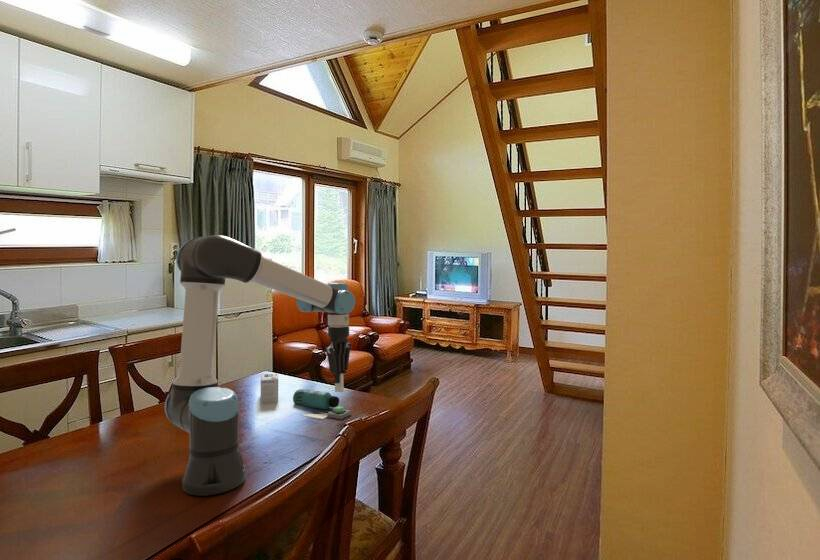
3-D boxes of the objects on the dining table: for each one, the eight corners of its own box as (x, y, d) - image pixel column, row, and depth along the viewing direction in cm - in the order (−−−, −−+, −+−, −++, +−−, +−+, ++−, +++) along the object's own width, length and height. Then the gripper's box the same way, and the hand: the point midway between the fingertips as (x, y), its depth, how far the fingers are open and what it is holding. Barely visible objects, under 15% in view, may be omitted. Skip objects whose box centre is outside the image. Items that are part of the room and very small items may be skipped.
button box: (341, 419, 160) (341, 415, 160) (327, 417, 162) (327, 412, 162) (350, 414, 165) (350, 410, 165) (337, 412, 168) (337, 408, 168)
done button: (340, 413, 161) (340, 409, 161) (332, 412, 163) (332, 408, 163) (345, 411, 164) (345, 407, 164) (338, 409, 166) (338, 405, 166)
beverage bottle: (303, 396, 181) (344, 401, 172) (293, 409, 177) (335, 415, 167) (296, 384, 178) (338, 389, 169) (286, 397, 173) (329, 402, 164)
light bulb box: (260, 400, 184) (260, 374, 184) (278, 399, 186) (277, 373, 186) (260, 408, 174) (260, 379, 174) (278, 406, 176) (278, 378, 176)
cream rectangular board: (322, 419, 160) (322, 418, 160) (295, 414, 165) (295, 413, 165) (348, 407, 174) (348, 406, 174) (323, 403, 179) (323, 402, 179)
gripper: (336, 328, 156) (336, 397, 156) (357, 324, 167) (358, 388, 168) (318, 327, 159) (319, 394, 160) (340, 323, 171) (341, 386, 171)
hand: (339, 391), depth 164 cm, fingers closed
